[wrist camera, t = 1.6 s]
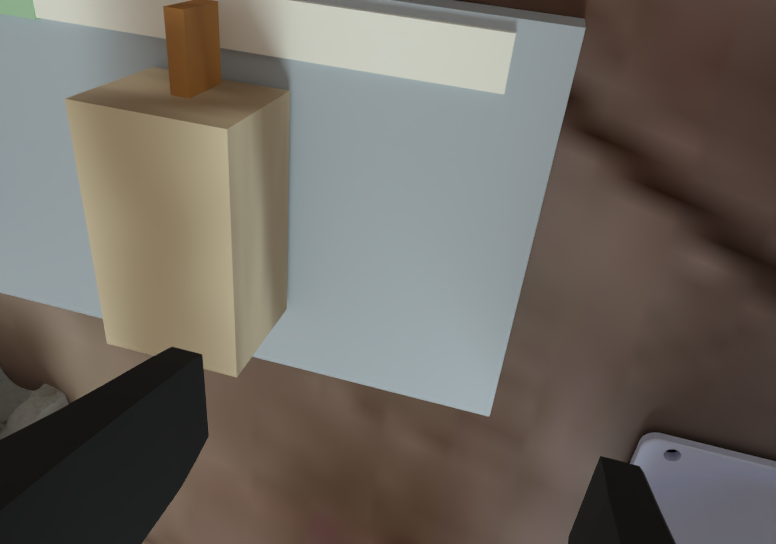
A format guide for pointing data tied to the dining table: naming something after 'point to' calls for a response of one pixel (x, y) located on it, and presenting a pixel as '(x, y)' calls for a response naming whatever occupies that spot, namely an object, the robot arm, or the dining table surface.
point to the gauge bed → (327, 169)
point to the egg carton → (26, 405)
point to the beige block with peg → (186, 199)
